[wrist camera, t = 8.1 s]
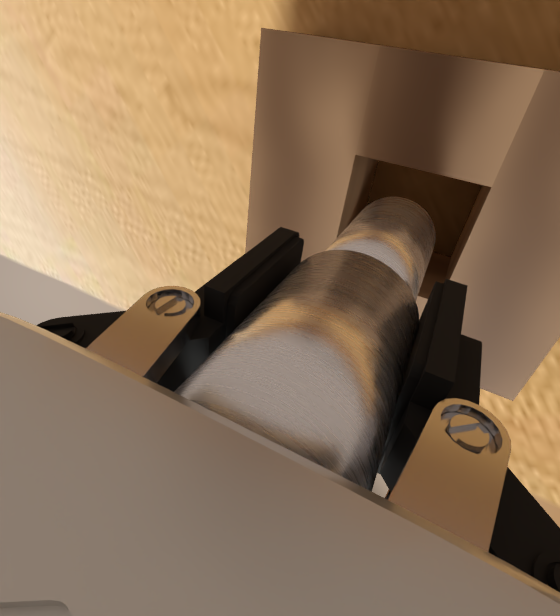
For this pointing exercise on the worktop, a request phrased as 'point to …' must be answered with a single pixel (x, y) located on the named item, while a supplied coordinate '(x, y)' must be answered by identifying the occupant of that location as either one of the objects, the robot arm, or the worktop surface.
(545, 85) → the block
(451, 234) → the worktop surface
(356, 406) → the stepped metal peg
